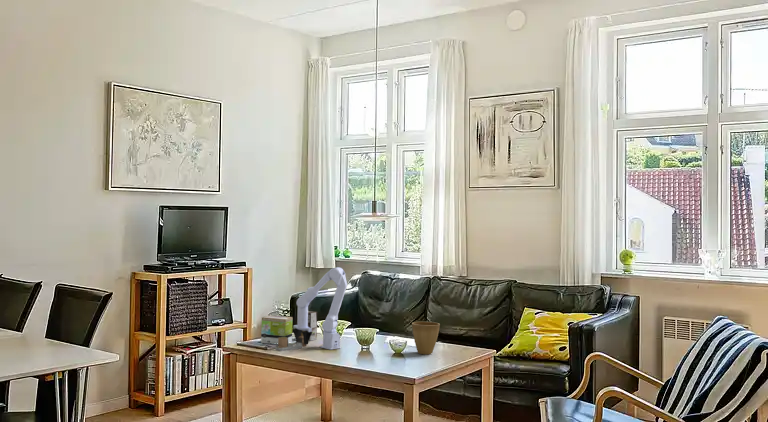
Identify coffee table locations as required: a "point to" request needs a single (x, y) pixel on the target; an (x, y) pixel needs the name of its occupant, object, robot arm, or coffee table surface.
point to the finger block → (301, 341)
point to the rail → (290, 346)
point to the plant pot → (425, 336)
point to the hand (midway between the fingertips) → (302, 343)
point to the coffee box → (312, 325)
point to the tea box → (276, 328)
